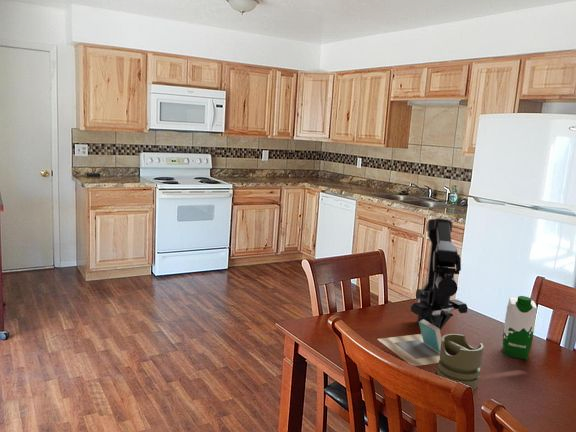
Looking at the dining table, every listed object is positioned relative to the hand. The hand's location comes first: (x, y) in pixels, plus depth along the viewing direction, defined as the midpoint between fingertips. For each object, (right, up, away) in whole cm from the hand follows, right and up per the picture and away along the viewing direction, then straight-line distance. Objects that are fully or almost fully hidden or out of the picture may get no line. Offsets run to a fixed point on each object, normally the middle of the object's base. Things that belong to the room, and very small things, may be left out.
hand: (436, 332), depth 165 cm
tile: (-1, -4, +1) cm, 5 cm away
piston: (0, -10, -19) cm, 21 cm away
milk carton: (+27, -8, +3) cm, 28 cm away
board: (-5, -6, -1) cm, 8 cm away
